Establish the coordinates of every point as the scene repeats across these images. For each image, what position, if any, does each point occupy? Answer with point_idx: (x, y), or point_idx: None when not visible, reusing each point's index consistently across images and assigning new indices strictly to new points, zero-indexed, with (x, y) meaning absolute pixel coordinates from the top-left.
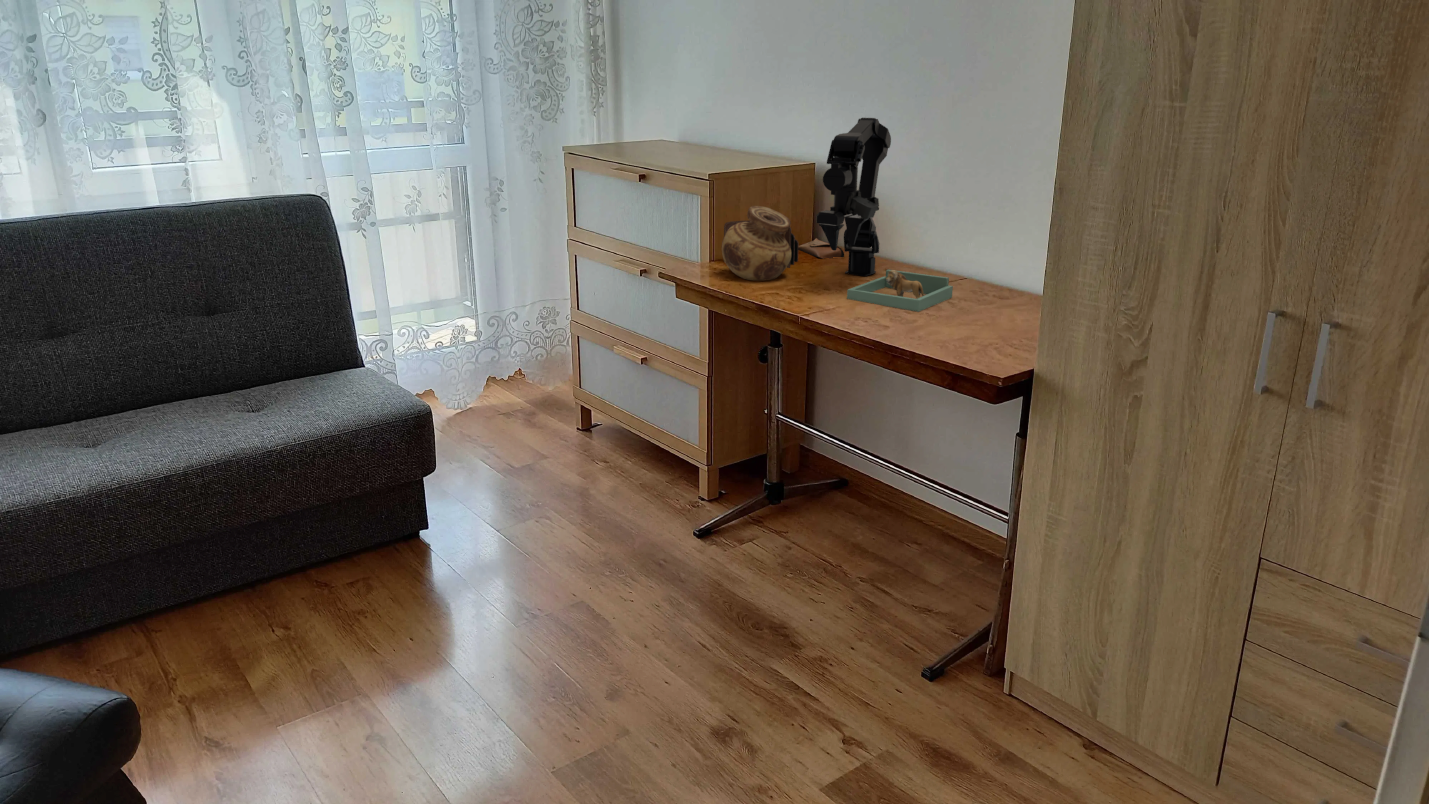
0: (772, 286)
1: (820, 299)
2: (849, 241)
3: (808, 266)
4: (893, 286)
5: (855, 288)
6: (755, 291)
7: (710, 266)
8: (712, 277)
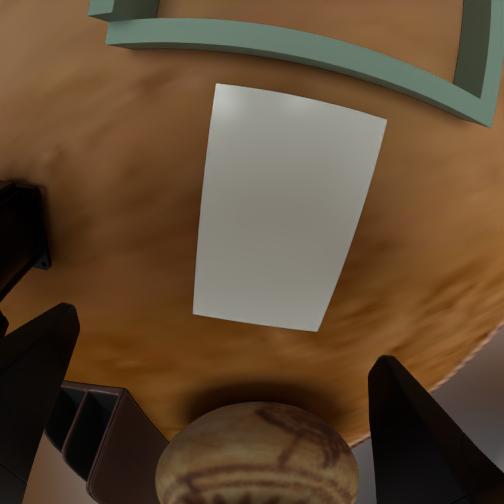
0: (309, 384)
1: (452, 219)
2: (72, 352)
3: None
4: None
5: (462, 94)
6: None
7: None
8: None
